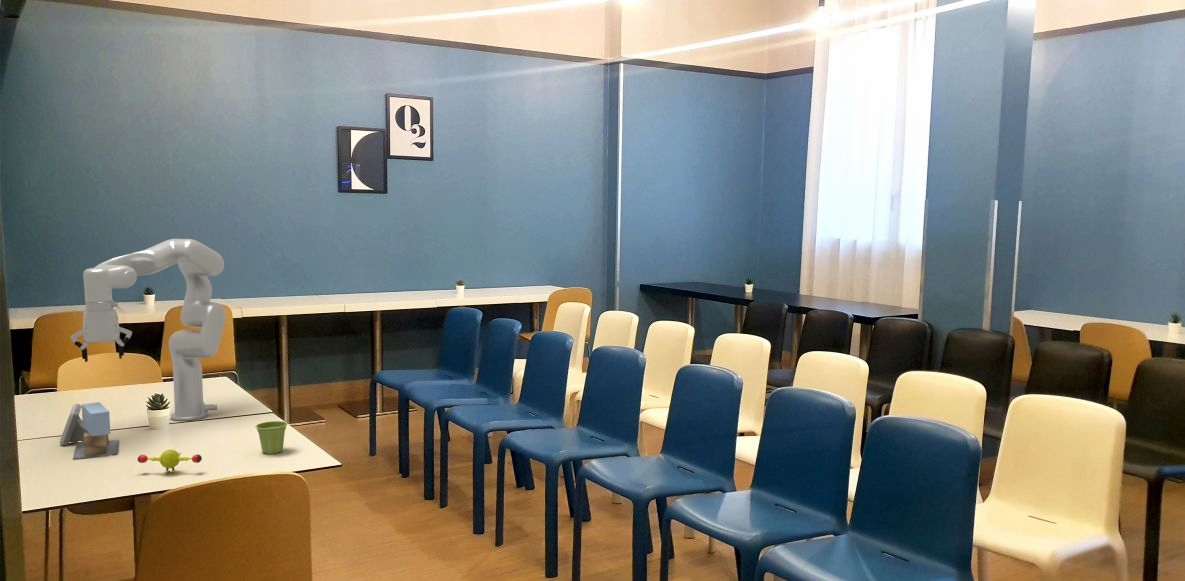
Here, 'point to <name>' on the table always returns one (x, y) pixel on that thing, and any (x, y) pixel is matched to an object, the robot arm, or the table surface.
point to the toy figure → (169, 459)
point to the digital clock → (73, 427)
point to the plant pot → (271, 436)
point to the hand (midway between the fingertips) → (103, 359)
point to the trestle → (96, 447)
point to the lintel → (96, 419)
